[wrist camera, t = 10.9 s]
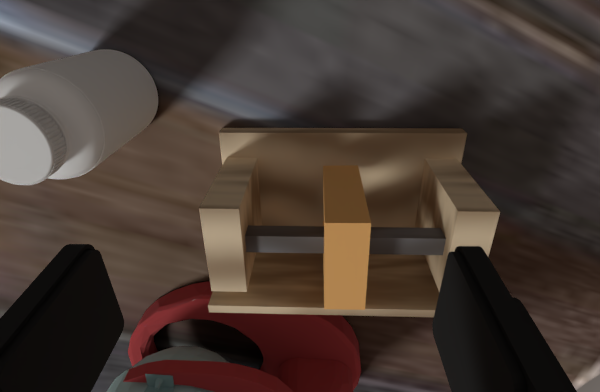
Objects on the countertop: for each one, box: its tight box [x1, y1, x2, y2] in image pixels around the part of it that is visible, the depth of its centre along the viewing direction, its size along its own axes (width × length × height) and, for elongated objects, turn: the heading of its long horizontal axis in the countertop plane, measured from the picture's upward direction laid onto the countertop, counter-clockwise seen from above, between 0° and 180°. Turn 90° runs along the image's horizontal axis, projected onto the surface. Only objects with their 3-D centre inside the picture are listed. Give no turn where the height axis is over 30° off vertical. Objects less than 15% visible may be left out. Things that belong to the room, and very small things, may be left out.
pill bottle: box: [0, 49, 158, 185], centre depth 30 cm, size 8×8×15 cm
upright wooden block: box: [323, 165, 371, 310], centre depth 33 cm, size 8×3×10 cm, turn 1°
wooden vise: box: [199, 128, 500, 317], centre depth 36 cm, size 13×23×12 cm, turn 91°
